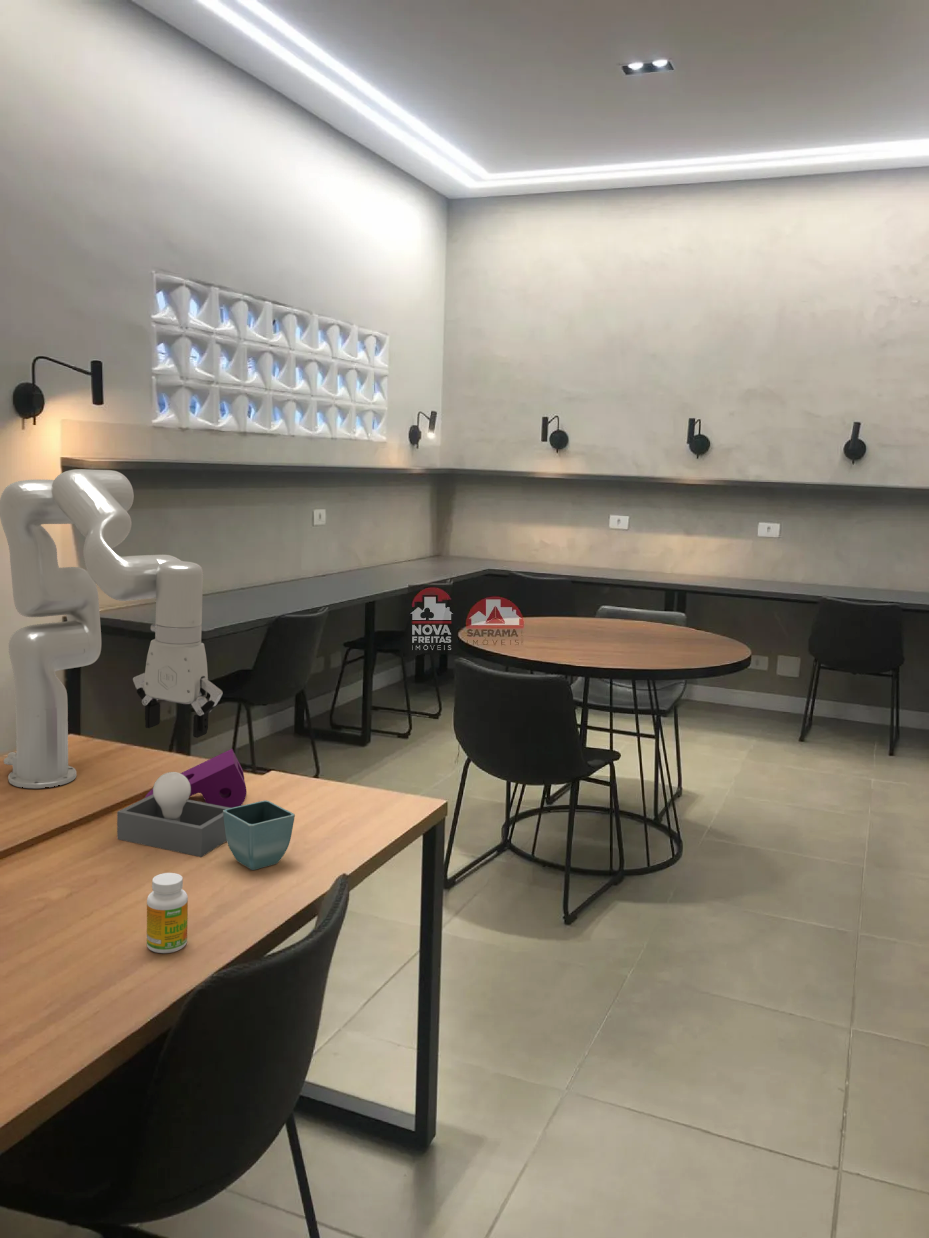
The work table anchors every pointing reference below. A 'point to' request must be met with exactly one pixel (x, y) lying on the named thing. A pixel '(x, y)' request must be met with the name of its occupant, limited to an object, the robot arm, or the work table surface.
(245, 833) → the flower pot
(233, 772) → the mounting bracket
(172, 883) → the supplement bottle
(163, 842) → the open box
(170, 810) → the lightbulb
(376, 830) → the work table surface
